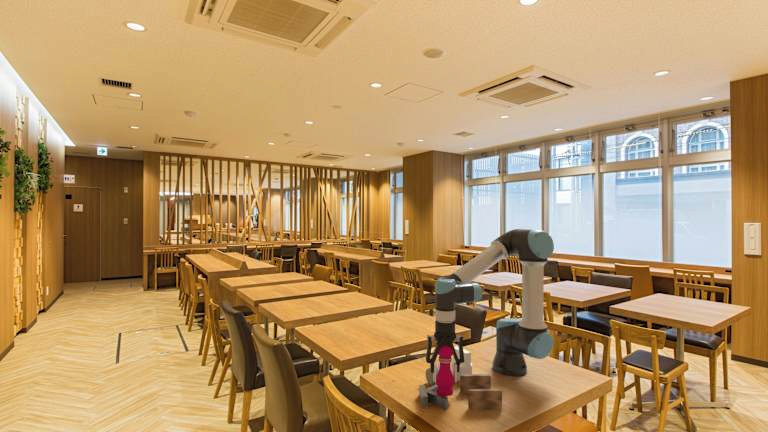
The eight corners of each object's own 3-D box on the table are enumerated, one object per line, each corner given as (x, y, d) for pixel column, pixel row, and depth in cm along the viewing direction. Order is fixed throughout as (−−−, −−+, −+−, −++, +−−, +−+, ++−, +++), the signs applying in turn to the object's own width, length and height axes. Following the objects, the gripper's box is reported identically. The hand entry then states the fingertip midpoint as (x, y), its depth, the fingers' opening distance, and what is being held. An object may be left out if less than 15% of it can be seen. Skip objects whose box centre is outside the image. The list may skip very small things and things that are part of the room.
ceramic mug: (424, 382, 168) (424, 364, 168) (440, 378, 171) (440, 361, 171) (438, 392, 158) (438, 373, 158) (454, 388, 162) (455, 370, 162)
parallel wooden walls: (489, 391, 159) (489, 374, 159) (502, 409, 144) (502, 390, 144) (460, 391, 158) (460, 374, 158) (469, 410, 143) (469, 391, 143)
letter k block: (441, 392, 158) (441, 382, 158) (448, 409, 144) (448, 398, 144) (418, 393, 157) (418, 382, 157) (423, 410, 143) (423, 399, 143)
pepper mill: (454, 398, 146) (454, 343, 146) (434, 396, 148) (435, 342, 148) (454, 389, 153) (455, 338, 153) (436, 387, 155) (436, 336, 155)
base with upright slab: (447, 375, 175) (447, 348, 175) (462, 371, 179) (462, 345, 179) (460, 383, 167) (460, 354, 167) (476, 378, 171) (476, 351, 171)
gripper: (468, 317, 155) (468, 376, 155) (417, 318, 154) (417, 376, 154) (473, 323, 147) (473, 384, 147) (420, 323, 147) (419, 385, 147)
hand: (444, 380), depth 151 cm, fingers closed on pepper mill, 7 cm apart
